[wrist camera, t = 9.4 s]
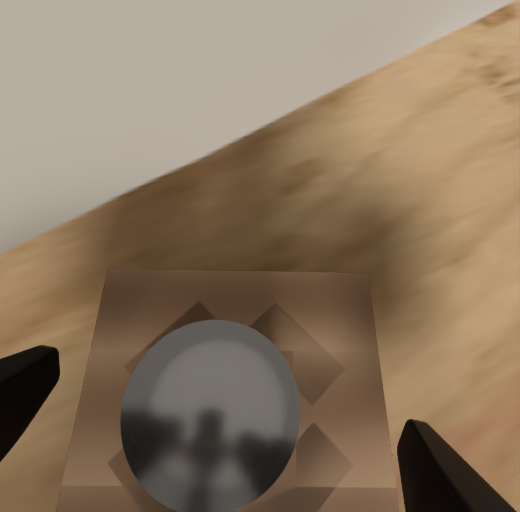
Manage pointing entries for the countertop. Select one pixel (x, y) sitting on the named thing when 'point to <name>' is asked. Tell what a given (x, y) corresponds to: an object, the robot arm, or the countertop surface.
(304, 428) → the bore block
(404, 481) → the robot arm
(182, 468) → the round bit
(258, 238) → the countertop surface
